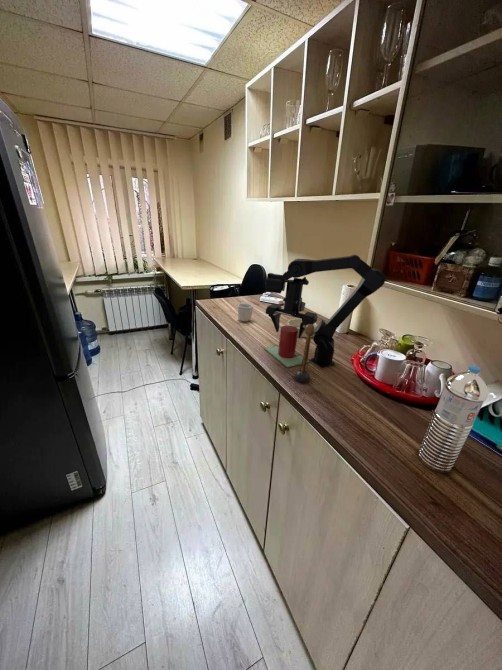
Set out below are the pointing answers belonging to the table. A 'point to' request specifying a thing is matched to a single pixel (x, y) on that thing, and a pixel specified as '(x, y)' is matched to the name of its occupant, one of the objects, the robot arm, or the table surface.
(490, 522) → the table surface
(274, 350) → the mat
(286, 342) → the can
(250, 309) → the cup
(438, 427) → the water bottle
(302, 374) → the wooden tabletop sculpture
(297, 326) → the bowl
